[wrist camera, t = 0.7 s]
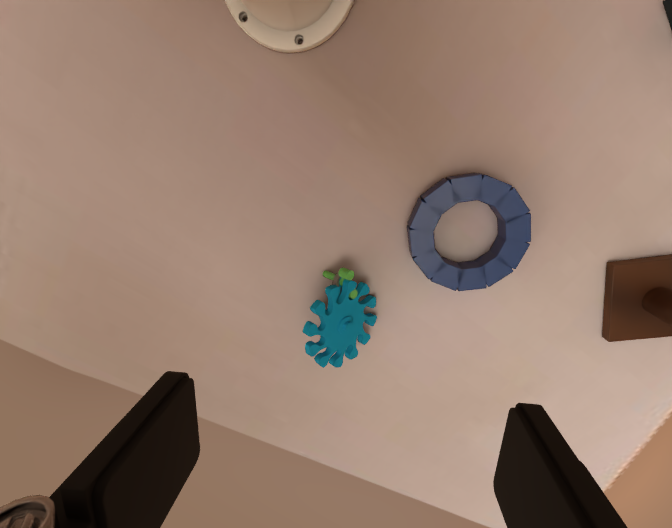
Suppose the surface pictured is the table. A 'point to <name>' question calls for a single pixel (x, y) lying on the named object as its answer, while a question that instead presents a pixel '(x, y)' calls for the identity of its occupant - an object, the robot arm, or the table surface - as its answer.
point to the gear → (340, 319)
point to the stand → (638, 299)
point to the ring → (504, 249)
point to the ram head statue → (668, 10)
